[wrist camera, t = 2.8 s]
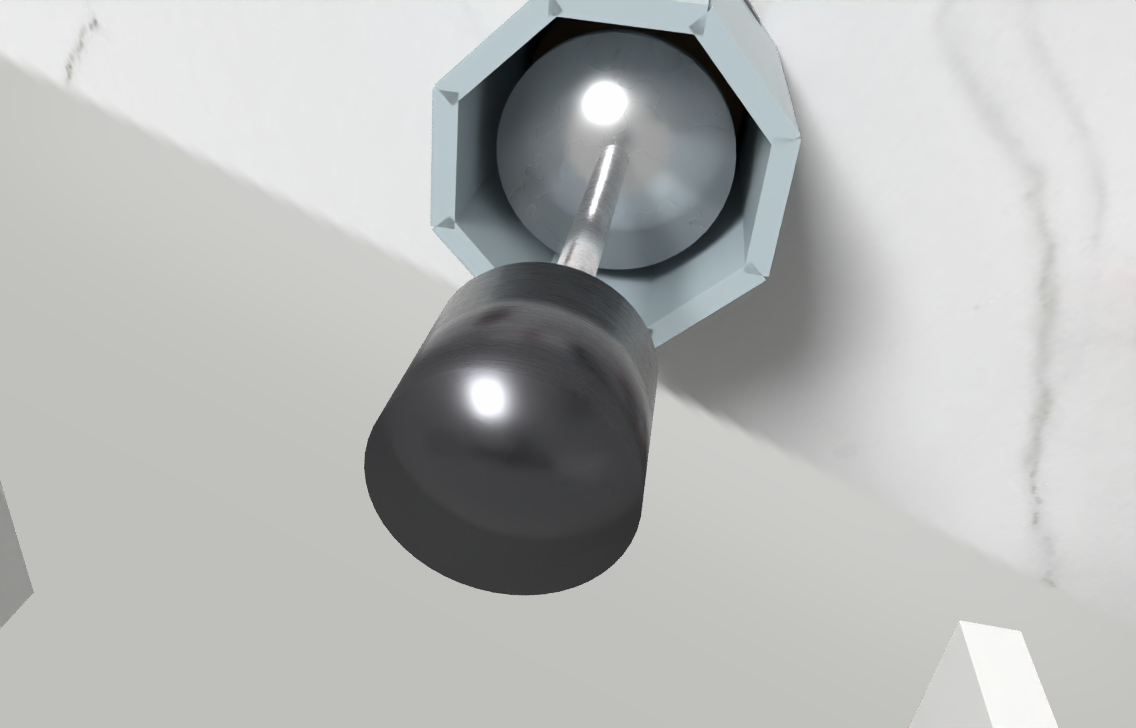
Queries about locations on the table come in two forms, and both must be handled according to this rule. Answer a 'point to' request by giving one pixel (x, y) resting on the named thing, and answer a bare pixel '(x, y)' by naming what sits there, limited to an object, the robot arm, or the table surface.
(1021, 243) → the table surface
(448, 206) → the octagonal grey mug
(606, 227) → the plunger
